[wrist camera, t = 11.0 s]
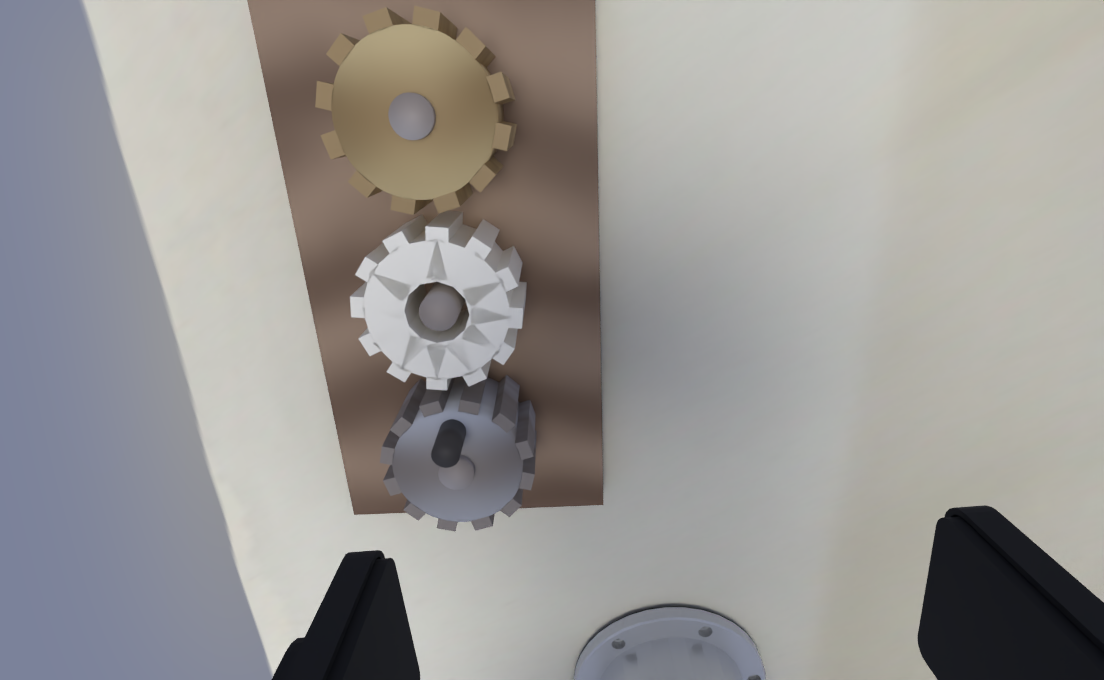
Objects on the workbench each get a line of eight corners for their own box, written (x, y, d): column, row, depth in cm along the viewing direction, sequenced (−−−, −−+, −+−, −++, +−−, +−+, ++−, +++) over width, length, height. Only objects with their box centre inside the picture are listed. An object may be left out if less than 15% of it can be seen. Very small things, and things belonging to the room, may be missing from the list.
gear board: (601, 488, 34) (614, 586, 27) (362, 498, 34) (313, 598, 27) (591, -31, 24) (608, -89, 17) (260, -13, 24) (144, -64, 17)
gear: (500, 371, 29) (493, 409, 26) (363, 329, 28) (335, 361, 25) (546, 240, 27) (545, 261, 23) (397, 189, 26) (371, 201, 22)
